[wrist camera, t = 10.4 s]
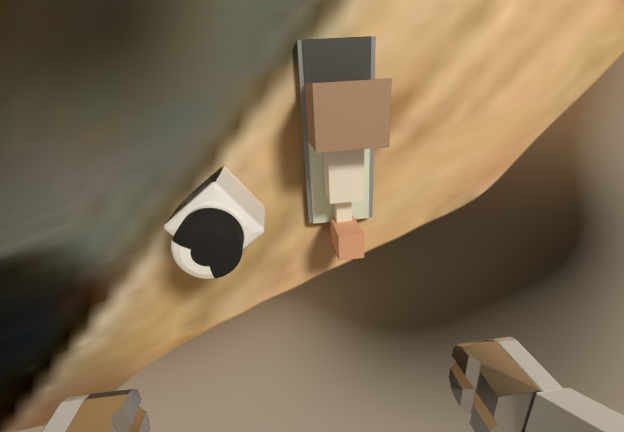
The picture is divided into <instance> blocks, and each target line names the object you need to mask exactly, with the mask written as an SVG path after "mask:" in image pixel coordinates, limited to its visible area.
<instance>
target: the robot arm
mask: <svg viewBox="0 0 624 432" xmlns="http://www.w3.org/2000/svg"><path fill="white" fill-rule="evenodd" d="M452 357H453V358H454V360H455V361H456V362H455V363H454V364H453V365H452V366H451V367H450V373H449V380H450V385H451V390H452V392H453V394H454V397H455V399H456V400H457V402H458V404H459V406H460V407H462V408H463V409H464V410H466V411H467V412H469V413H470V425H471V426H472V428H473V430H474V431H475V432H624V416H623V415H621V414H619V413H617V412H615V411H613V410H611V409H610V408H607V407H606V406H604V405H602V404H600V403H598V402H596V401H594V400H592V399H590V398H588V397H586V396H584V395H582V394H580V393H578V392H576V391H575V390H573V389H571V388H562V387H561V386H560V385H559V384H558V383H557V382H556V381H555V379H554V378H553V377H552V376H551V375H550V374H549V373H548V372H547V371H546V370H545V369H544V368H543V367H542V366H541V365H540V364H539V363H538V362H537V361H536V360H535V359H534V358H533V357H532V356H531V355H530V354H529V353H528V352H527V351H526V350H525V349H524V347H523V346H522V345H521V344H520V343H519V342H518V341H517V340H515V339H514V338H512V337H505V338H498V339H492V340H483V341H476V342H469V343H463V344H457V345H455V346H454V348H453V352H452ZM140 402H141V397H140V394H139V392H138V390H137V389H136V390H135V389H131V390H122V391H113V392H104V393H95V394H88V395H80V396H71V397H68V398H67V399H65V400H64V401H63V402H62V403H61V404H60V405H59V407H58V408H57V410H56V411H55V413H54V414H53V416H52V417H51V419H50V420H49V422H48V423H47V425H46V426H45V428H44V429H43V431H42V432H149V418H148V416H147V413H146V411H144V410H143V409H141V408H139V407H138V406H139V404H140Z"/></svg>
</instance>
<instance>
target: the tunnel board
mask: <svg viewBox="0 0 624 432" xmlns="http://www.w3.org/2000/svg"><path fill="white" fill-rule="evenodd" d="M375 41H376V36H374V37H371V36H369V37H348V38H327V39H306V40H297V56H298V71H299V87H300V102H301V117H302V133H303V148H304V164H305V179H306V194H307V210H308V221H309V223H313V224H315V223H325V222H330V217H334V204H330V203H329V201H328V199H327V197H326V195H325V181H324V157H323V152H335V151H347V150H360V149H364V201H356V202H352V215H353V216H354V218H355V219H365V218H369V217H372V199H373V148H385V147H389V137H390V111H391V84H392V78H390V79H375Z"/></svg>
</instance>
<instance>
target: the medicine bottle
mask: <svg viewBox="0 0 624 432" xmlns="http://www.w3.org/2000/svg"><path fill="white" fill-rule="evenodd" d="M264 221H265V207H264V205H263V204H262V203H261V202H260V201H259V200H258V199H257V198H256V197H255V196H254V195H253V194H252V193H251V192H250V191H249V190H248V189H247V188H246V187H245V186H244V185H243V184H242V183H241V182H240V181H239V180H238V179H237V178H236V177H235V176H234V175H233V174H232V173H231V172H230V171H229V170H228V169H227V168H226V167H225V166H222V167H220V168H219V169H218V170H217V171H216V172H215V173H214V174H213V175H211V176H210V177H209V178H208V179H207V180H206V181H205V182H204V183H203V184H201V185H200V186H199V187H198V188H197V189H196V190H195V191H194V192H192V193H191V194H190V195H189V196H188V197H187V198H186V199H185V200H184V201H182V202H181V204H180V205H179V206H178V208H177V209H176V210H175V212H174V213H173V214H172V216H171V217H170V218H169V220H168V221H167V222H166V224H165V225H164V229H165V230H166V231H167V232H168V233H170V234H171V235H172V236H173V239H172V243H171V251H172V255H173V258H174V260H175V262H176V263H177V264H178V266H179V267H180V268H181V269H182V270H184V271H185V272H187V273H188V274H190V275H192V276H195V277H198V278H203V279H214V278H219V277H222V276H225V275H227V274H228V273H230V272H231V271H232V270H234V269H235V267H236V266H237V265H238V263H239V261H240V259H241V255H242V250H243V249H244V248H245V247H247V246H248V245H249V244H250V243H251V242H253V241H254V240H255V239H256V238H257V237H259V236H260V235H261V234H262V233H263V232H264Z"/></svg>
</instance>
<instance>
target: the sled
mask: <svg viewBox="0 0 624 432" xmlns="http://www.w3.org/2000/svg"><path fill="white" fill-rule="evenodd" d="M323 157H324V181H325V195H326V197H327V199H328V201H329V203H330V204H334V217H330V230H331V241H332V243H333V246H334V248H335V251H336V253H337V256H338V258H339V260H347V259H356V258H364V232H363V231H362V229H361V228H360V226H359V224H358V223H357V221H356V220H355V218H354V216H353V215H352V202H356V201H364V149H360V150H347V151H335V152H323Z"/></svg>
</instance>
